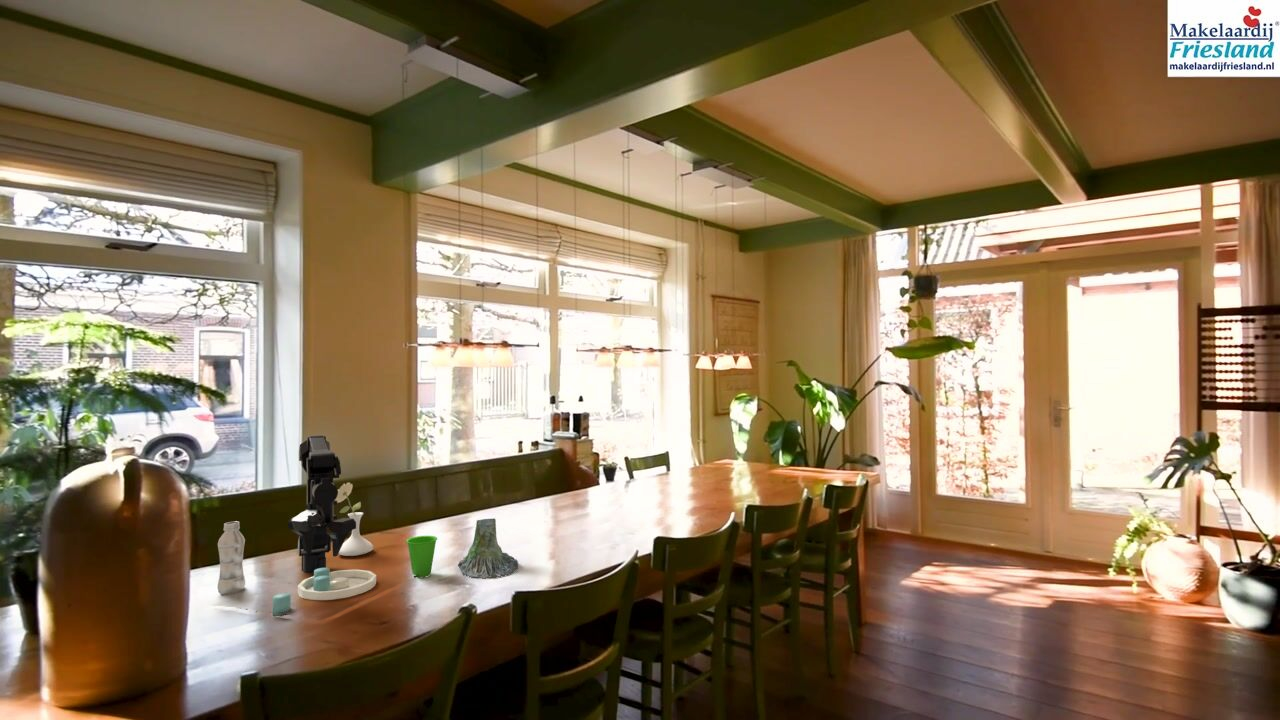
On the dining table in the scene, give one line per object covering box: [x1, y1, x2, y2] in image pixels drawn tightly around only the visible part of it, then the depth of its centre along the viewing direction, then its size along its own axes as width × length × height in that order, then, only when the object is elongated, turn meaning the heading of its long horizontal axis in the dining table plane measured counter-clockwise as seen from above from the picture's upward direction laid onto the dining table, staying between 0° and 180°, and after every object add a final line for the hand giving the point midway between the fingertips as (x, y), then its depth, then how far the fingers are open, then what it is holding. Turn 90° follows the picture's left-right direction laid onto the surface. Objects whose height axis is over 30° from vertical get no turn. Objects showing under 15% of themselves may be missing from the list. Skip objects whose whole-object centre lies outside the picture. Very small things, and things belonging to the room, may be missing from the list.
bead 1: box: [272, 592, 292, 617], centre depth 165 cm, size 4×4×4 cm
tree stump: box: [457, 518, 519, 580], centre depth 202 cm, size 18×20×18 cm
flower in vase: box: [335, 482, 374, 557], centre depth 218 cm, size 13×11×25 cm
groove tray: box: [297, 568, 377, 601], centre depth 181 cm, size 20×20×3 cm
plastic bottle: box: [217, 520, 246, 596], centre depth 179 cm, size 6×7×20 cm
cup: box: [405, 535, 438, 579], centre depth 195 cm, size 9×9×11 cm
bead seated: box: [313, 567, 331, 578], centre depth 183 cm, size 4×4×4 cm
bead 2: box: [314, 576, 330, 591], centre depth 176 cm, size 4×4×4 cm
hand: (322, 555), depth 176 cm, fingers open, 9 cm apart
